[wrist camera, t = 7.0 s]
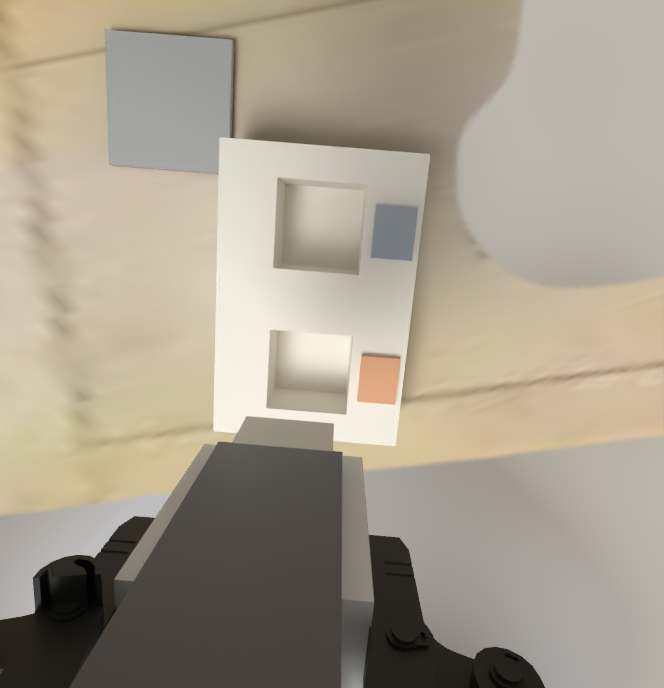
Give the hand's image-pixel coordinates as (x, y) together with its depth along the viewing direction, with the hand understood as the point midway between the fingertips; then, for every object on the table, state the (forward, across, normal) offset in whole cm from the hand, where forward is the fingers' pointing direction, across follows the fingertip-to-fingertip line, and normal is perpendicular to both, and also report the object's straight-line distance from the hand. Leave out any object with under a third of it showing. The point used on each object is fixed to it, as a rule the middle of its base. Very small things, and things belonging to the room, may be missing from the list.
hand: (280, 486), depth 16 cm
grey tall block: (+2, 0, 0) cm, 2 cm away
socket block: (+18, 0, +5) cm, 19 cm away
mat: (+18, -10, +16) cm, 27 cm away
